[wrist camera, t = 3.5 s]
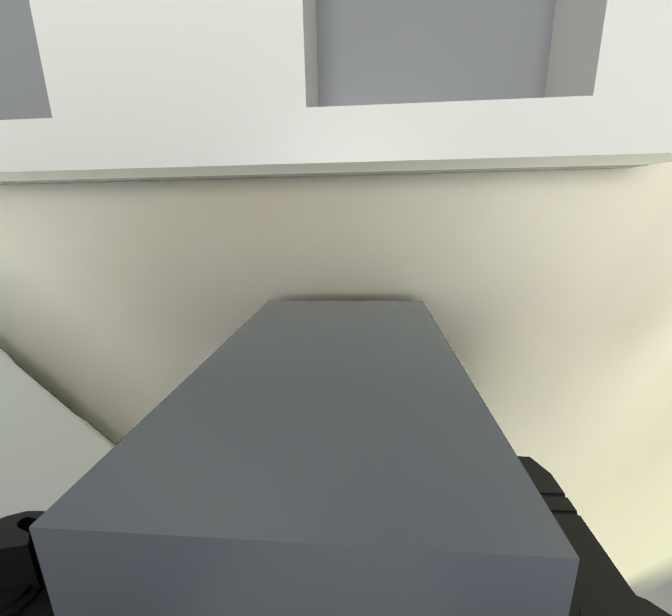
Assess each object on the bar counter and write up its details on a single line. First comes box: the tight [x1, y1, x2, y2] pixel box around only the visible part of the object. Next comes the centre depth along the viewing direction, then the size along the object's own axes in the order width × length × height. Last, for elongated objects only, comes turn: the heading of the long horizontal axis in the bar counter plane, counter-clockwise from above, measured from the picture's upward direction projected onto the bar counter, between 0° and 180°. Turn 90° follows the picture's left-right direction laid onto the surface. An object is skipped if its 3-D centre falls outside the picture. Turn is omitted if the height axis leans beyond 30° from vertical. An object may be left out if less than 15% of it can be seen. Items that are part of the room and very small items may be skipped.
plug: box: [29, 301, 580, 616], centre depth 9 cm, size 5×6×10 cm
